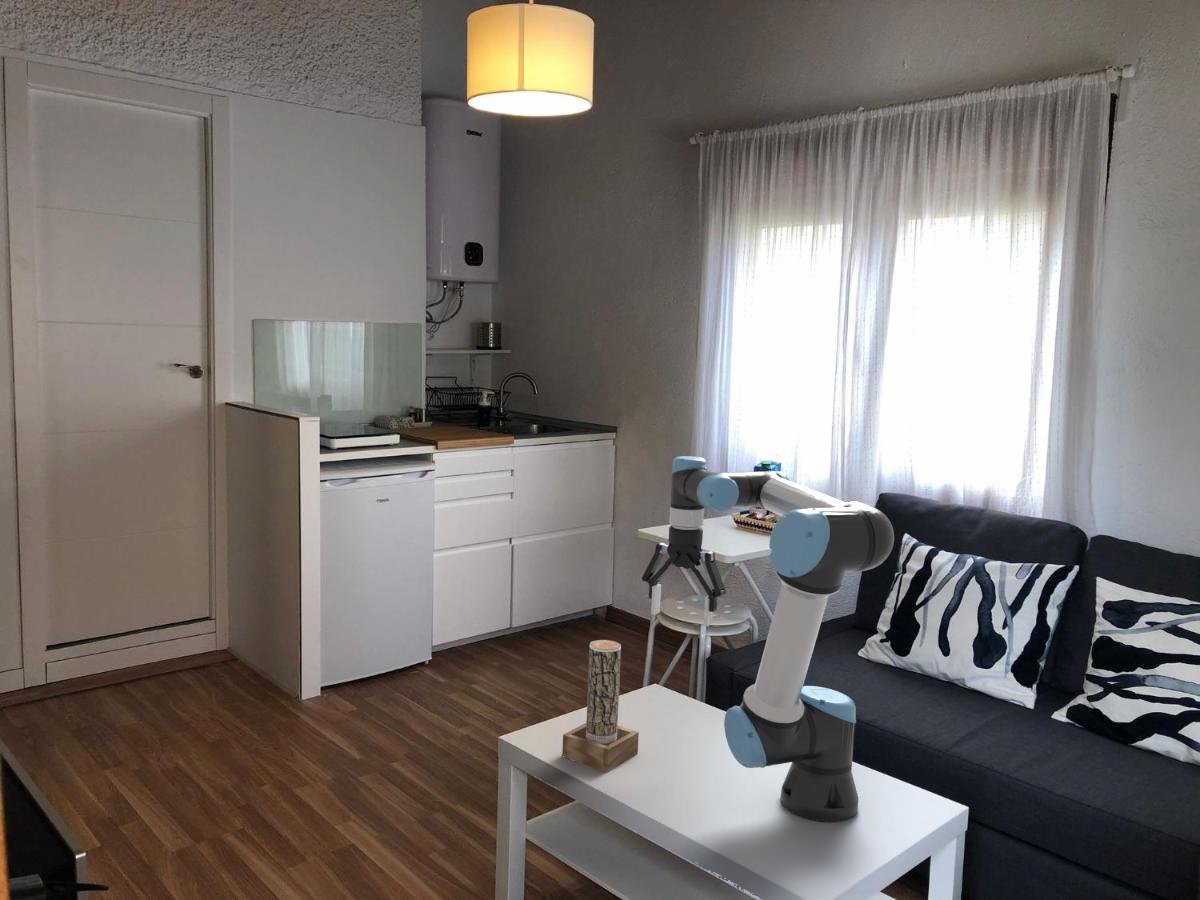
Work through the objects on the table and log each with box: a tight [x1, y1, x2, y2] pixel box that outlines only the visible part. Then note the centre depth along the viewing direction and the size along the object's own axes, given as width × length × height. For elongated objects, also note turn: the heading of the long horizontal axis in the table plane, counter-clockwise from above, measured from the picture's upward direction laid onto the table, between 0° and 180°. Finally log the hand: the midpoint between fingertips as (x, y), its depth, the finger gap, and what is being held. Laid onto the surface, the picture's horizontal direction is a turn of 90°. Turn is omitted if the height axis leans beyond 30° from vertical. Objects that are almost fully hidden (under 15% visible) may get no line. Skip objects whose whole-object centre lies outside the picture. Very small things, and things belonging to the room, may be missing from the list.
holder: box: [561, 722, 640, 773], centre depth 220 cm, size 12×12×5 cm
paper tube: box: [585, 639, 622, 746], centre depth 219 cm, size 7×7×25 cm
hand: (681, 619), depth 226 cm, fingers open, 13 cm apart
